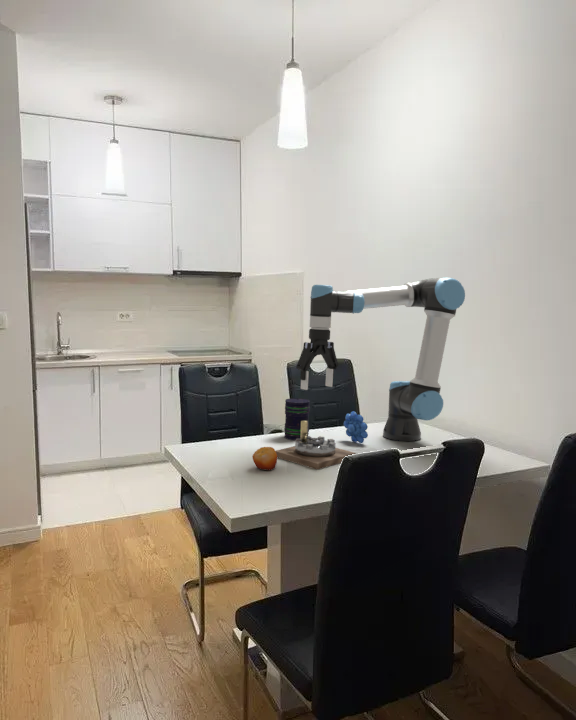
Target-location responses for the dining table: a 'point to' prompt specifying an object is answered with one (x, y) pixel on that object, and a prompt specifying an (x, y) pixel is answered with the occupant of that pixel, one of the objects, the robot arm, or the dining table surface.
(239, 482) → the dining table surface
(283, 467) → the dining table surface
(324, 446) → the crank wheel
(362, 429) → the grapes
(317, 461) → the base plate
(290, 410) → the storage jar
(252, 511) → the dining table surface
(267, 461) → the fruit
